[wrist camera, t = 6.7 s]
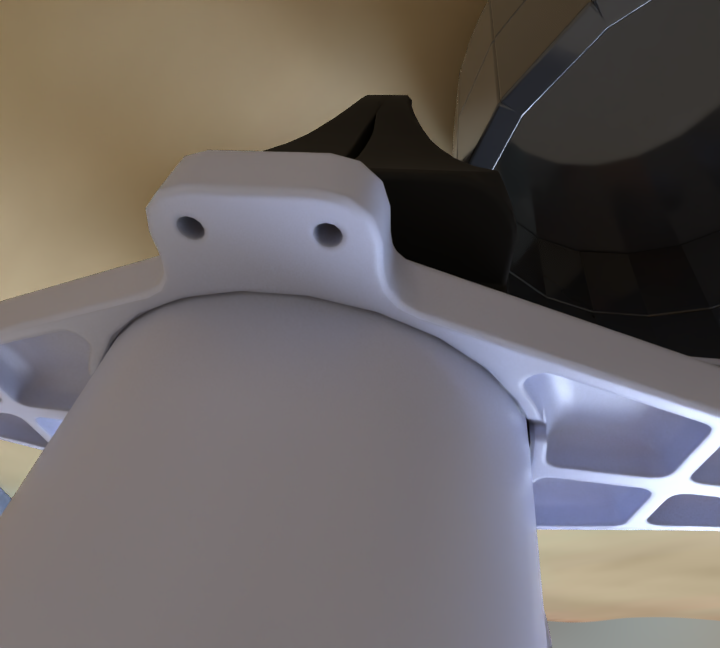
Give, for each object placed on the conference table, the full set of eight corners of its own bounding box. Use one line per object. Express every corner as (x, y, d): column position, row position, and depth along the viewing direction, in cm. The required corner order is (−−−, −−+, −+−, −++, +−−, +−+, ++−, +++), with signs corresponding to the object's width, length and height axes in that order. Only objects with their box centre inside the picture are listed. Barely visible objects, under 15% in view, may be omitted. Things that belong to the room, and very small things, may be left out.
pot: (763, 263, 17) (866, 428, 12) (441, 244, 18) (433, 385, 14) (1117, -214, 9) (1783, -223, 4) (483, -175, 10) (493, -153, 6)
